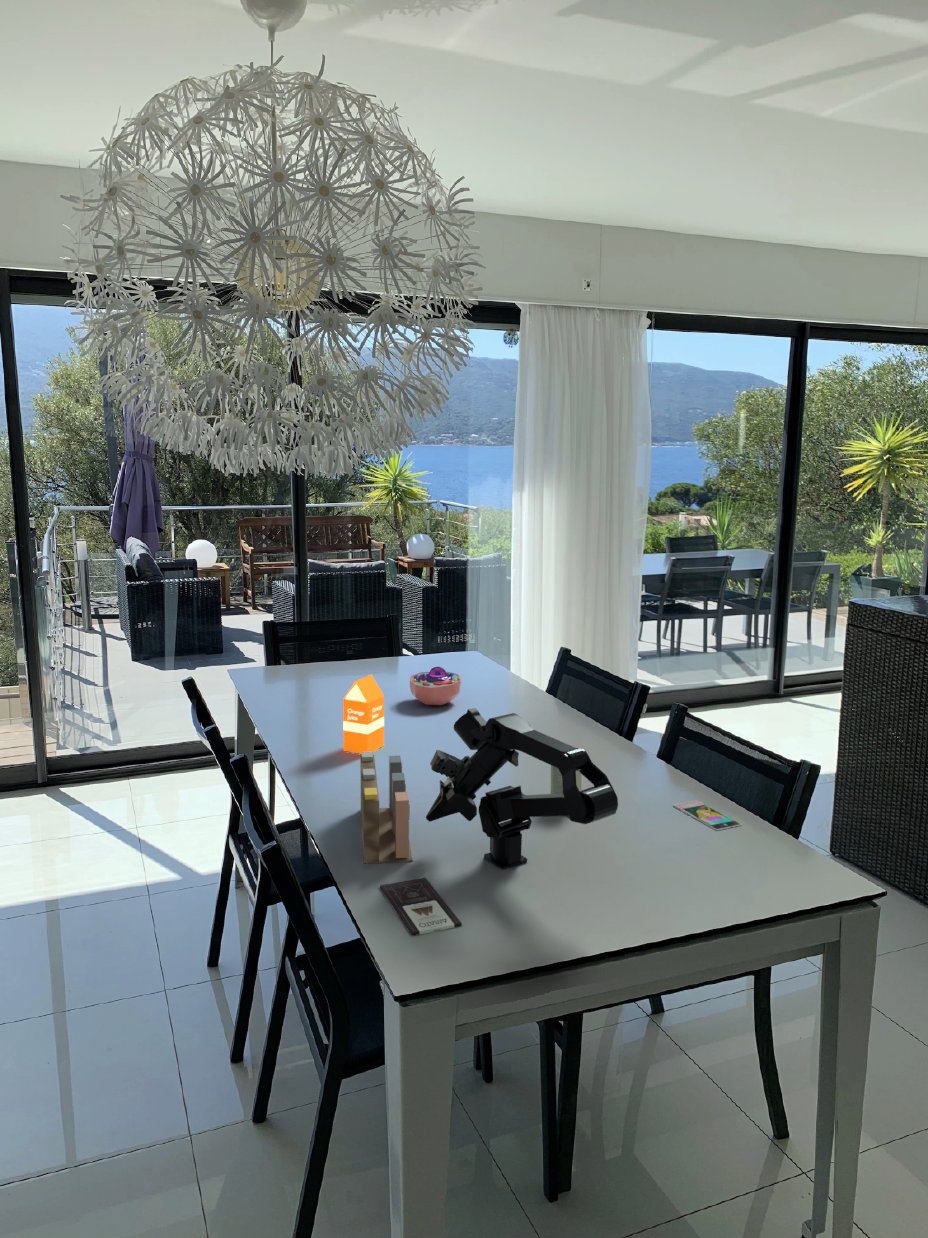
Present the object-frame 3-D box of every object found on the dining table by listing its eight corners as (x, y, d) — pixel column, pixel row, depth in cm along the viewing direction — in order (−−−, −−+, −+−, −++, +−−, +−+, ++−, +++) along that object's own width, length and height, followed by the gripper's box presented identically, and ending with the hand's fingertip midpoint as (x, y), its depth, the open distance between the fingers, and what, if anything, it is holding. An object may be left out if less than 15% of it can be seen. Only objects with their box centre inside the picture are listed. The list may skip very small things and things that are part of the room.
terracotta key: (408, 847, 184) (408, 791, 181) (409, 857, 179) (410, 800, 177) (394, 848, 183) (394, 792, 181) (396, 858, 179) (396, 800, 177)
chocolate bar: (425, 877, 172) (461, 923, 155) (425, 882, 172) (461, 928, 155) (379, 885, 168) (412, 932, 152) (379, 890, 168) (412, 938, 152)
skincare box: (581, 803, 210) (583, 753, 208) (573, 809, 207) (575, 758, 204) (556, 797, 214) (558, 748, 211) (548, 803, 210) (550, 753, 208)
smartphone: (716, 829, 196) (672, 804, 209) (716, 832, 196) (672, 807, 209) (742, 824, 199) (697, 800, 212) (741, 827, 199) (696, 803, 212)
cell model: (399, 709, 284) (399, 674, 282) (421, 693, 303) (421, 660, 301) (450, 714, 279) (451, 678, 277) (469, 697, 298) (470, 664, 296)
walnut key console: (403, 808, 206) (403, 749, 203) (412, 861, 179) (412, 794, 177) (360, 810, 204) (360, 750, 202) (363, 863, 178) (363, 796, 175)
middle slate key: (404, 825, 194) (404, 772, 192) (405, 834, 190) (406, 780, 188) (391, 826, 194) (391, 773, 192) (392, 835, 190) (393, 780, 187)
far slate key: (400, 806, 205) (401, 755, 203) (402, 813, 201) (402, 762, 198) (388, 806, 205) (389, 755, 203) (390, 814, 200) (390, 762, 198)
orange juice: (384, 746, 248) (384, 675, 244) (368, 756, 240) (367, 683, 236) (360, 742, 251) (359, 672, 248) (342, 751, 243) (342, 679, 240)
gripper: (449, 724, 188) (396, 777, 188) (460, 754, 169) (401, 811, 170) (486, 759, 190) (433, 811, 191) (501, 792, 172) (443, 849, 172)
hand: (427, 819), depth 181 cm, fingers closed
